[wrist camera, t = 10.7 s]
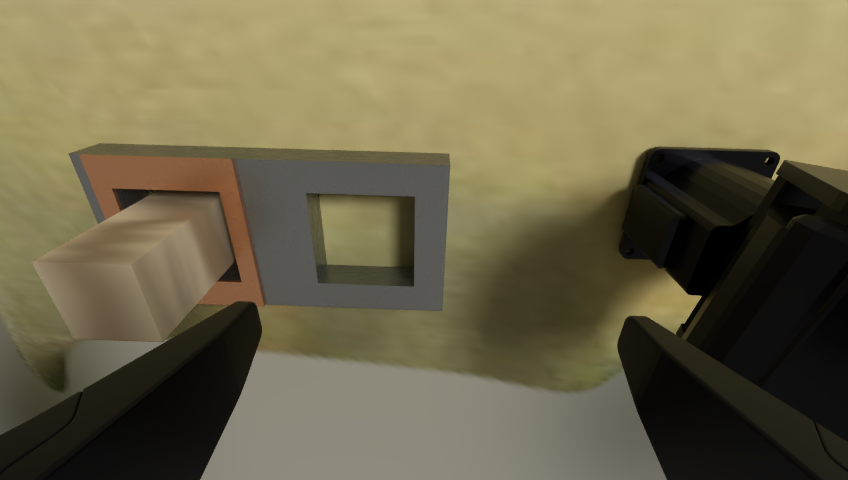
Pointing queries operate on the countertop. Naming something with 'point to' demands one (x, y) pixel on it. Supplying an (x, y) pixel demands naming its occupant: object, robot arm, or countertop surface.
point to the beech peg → (140, 267)
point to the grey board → (287, 216)
